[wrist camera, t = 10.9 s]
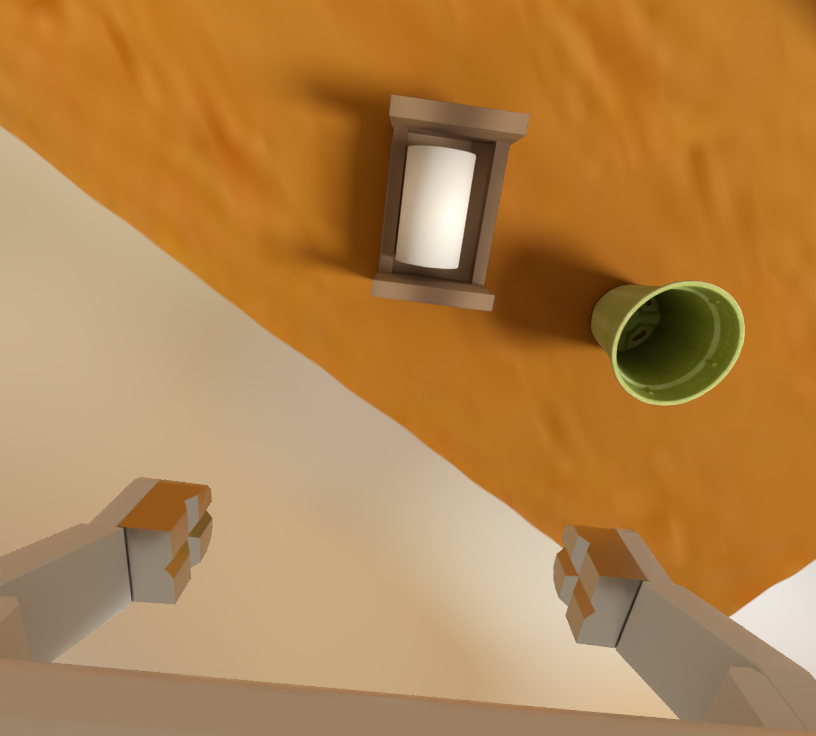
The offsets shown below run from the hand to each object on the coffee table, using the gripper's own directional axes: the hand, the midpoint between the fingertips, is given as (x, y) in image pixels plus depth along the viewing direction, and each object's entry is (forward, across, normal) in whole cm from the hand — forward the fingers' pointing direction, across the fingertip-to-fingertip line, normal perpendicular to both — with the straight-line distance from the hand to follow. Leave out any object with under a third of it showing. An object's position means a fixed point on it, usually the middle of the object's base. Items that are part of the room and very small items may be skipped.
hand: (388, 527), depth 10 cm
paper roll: (+30, -2, -7) cm, 31 cm away
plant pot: (+31, -20, 0) cm, 37 cm away
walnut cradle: (+31, -2, -7) cm, 32 cm away
